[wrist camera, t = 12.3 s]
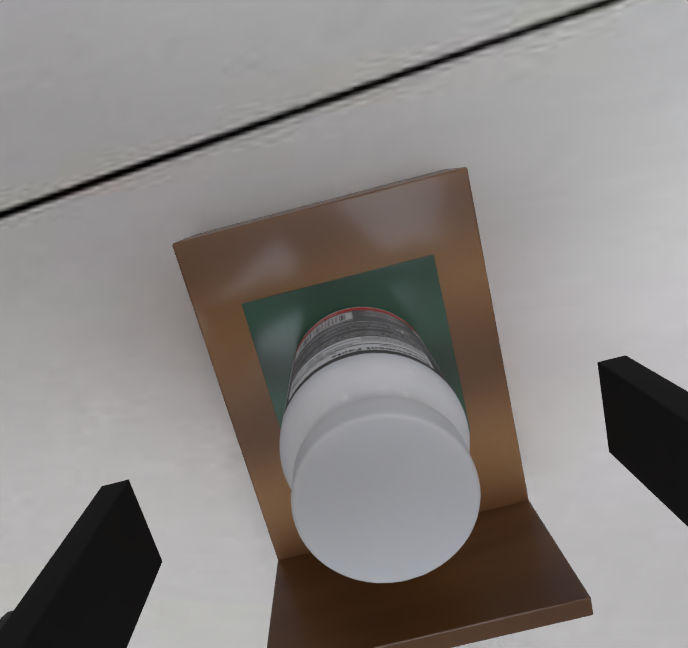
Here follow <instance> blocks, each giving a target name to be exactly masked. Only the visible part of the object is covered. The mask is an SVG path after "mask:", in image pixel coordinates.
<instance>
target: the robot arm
mask: <svg viewBox="0 0 688 648" xmlns="http://www.w3.org/2000/svg"><path fill="white" fill-rule="evenodd" d="M598 370H599V377H600V385H601V393H602V400H603V408H604V416H605V423H606V431H607V439H608V446H609V452H610V453H611V454H612V455H613V456H614V457H615V458H616V459H617V460H618V461H619V462H620V463H622V464H623V465H624V466H625V467H626V468H627V469H628V470H629V471H630V472H631V473H632V474H633V475H634V476H635V477H636V478H637V479H638V480H639V481H640V482H642V483H643V484H644V485H645V486H646V487H647V488H648V489H649V490H650V491H651V492H652V493H653V494H654V495H655V496H656V497H657V498H658V499H659V500H660V501H661V502H663V503H664V504H665V505H666V506H667V507H668V508H669V509H670V510H671V511H672V512H673V513H674V514H675V515H676V516H677V517H678V518H679V519H680V520H681V521H682V522H684V523H685V524H686V525H687V526H688V392H687V391H686V390H684V389H682V388H681V387H679V386H677V385H675V384H674V383H672V382H670V381H669V380H667V379H665V378H663V377H662V376H660V375H658V374H657V373H655V372H653V371H651V370H650V369H648V368H646V367H645V366H643V365H641V364H639V363H638V362H636V361H634V360H633V359H631V358H629V357H627V356H626V355H625V356H621V357H617V358H613V359H609V360H605V361H601V362H598ZM161 563H162V559H161V557H160V555H159V552H158V550H157V547H156V545H155V542H154V540H153V538H152V535H151V533H150V530H149V528H148V525H147V523H146V520H145V518H144V516H143V513H142V511H141V508H140V506H139V503H138V501H137V499H136V496H135V494H134V491H133V489H132V486H131V484H130V482H129V480H125V481H121V482H117V483H113V484H109V485H105V486H102V487H101V488H100V490H99V491H98V493H97V494H96V495H95V497H94V498H93V500H92V501H91V502H90V504H89V505H88V507H87V508H86V509H85V511H84V512H83V514H82V515H81V517H80V518H79V519H78V521H77V522H76V524H75V525H74V526H73V528H72V529H71V531H70V532H69V533H68V535H67V536H66V538H65V539H64V540H63V542H62V543H61V545H60V546H59V548H58V549H57V550H56V552H55V553H54V555H53V556H52V557H51V559H50V560H49V562H48V563H47V564H46V566H45V567H44V569H43V570H42V571H41V573H40V574H39V576H38V577H37V579H36V580H35V581H34V583H33V584H32V586H31V587H30V588H29V590H28V591H27V593H26V594H25V595H24V597H23V598H22V600H21V601H20V602H19V604H18V605H17V607H16V608H15V610H14V611H10V612H7V613H6V614H5V615H4V616H3V617H2V618H1V619H0V648H127V646H128V643H129V641H130V638H131V636H132V633H133V631H134V629H135V626H136V624H137V621H138V619H139V616H140V614H141V612H142V609H143V607H144V604H145V602H146V600H147V597H148V595H149V592H150V590H151V587H152V585H153V583H154V580H155V578H156V575H157V573H158V571H159V568H160V566H161Z"/></svg>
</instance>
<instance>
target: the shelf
mask: <svg viewBox="0 0 688 648" xmlns="http://www.w3.org/2000/svg"><path fill="white" fill-rule="evenodd" d="M173 249H174V252H175V255H176V258H177V261H178V263H179V266H180V269H181V272H182V275H183V278H184V281H185V284H186V287H187V290H188V293H189V296H190V299H191V302H192V305H193V308H194V311H195V314H196V317H197V320H198V323H199V326H200V329H201V332H202V335H203V338H204V341H205V344H206V347H207V350H208V353H209V356H210V359H211V362H212V365H213V368H214V371H215V374H216V377H217V380H218V383H219V386H220V389H221V392H222V395H223V398H224V400H225V403H226V406H227V409H228V412H229V415H230V418H231V421H232V424H233V427H234V430H235V433H236V436H237V439H238V442H239V445H240V448H241V451H242V454H243V457H244V460H245V463H246V466H247V469H248V472H249V475H250V478H251V481H252V484H253V487H254V490H255V493H256V496H257V499H258V502H259V505H260V508H261V511H262V514H263V517H264V520H265V523H266V526H267V529H268V532H269V535H270V537H271V540H272V543H273V546H274V549H275V552H276V555H277V558H278V565H277V573H276V581H275V588H274V596H273V604H272V612H271V620H270V628H269V636H268V643H267V648H452V647H456V646H460V645H465V644H469V643H473V642H478V641H482V640H486V639H491V638H495V637H499V636H504V635H508V634H512V633H517V632H521V631H525V630H530V629H534V628H538V627H542V626H547V625H551V624H555V623H560V622H564V621H568V620H573V619H577V618H581V617H586V616H590V615H593V610H592V603H591V597H590V596H589V594H588V593H587V591H586V590H585V588H584V586H583V585H582V583H581V582H580V580H579V579H578V577H577V575H576V574H575V572H574V571H573V569H572V568H571V566H570V564H569V563H568V561H567V560H566V558H565V557H564V555H563V553H562V552H561V550H560V549H559V547H558V546H557V544H556V542H555V541H554V539H553V538H552V536H551V535H550V533H549V531H548V530H547V528H546V527H545V525H544V524H543V522H542V521H541V519H540V517H539V516H538V514H537V513H536V511H535V510H534V508H533V506H532V505H531V503H530V502H529V500H528V494H527V489H526V484H525V478H524V473H523V467H522V462H521V457H520V451H519V446H518V440H517V435H516V430H515V424H514V419H513V413H512V408H511V403H510V397H509V392H508V386H507V381H506V376H505V370H504V365H503V359H502V354H501V349H500V343H499V338H498V332H497V327H496V322H495V316H494V311H493V305H492V300H491V295H490V289H489V284H488V278H487V273H486V268H485V262H484V257H483V251H482V246H481V241H480V235H479V230H478V224H477V219H476V214H475V208H474V203H473V197H472V192H471V187H470V181H469V176H468V170H467V168H466V167H462V168H453V169H444V170H440V171H436V172H433V173H429V174H425V175H421V176H417V177H413V178H410V179H406V180H402V181H398V182H394V183H390V184H387V185H383V186H379V187H375V188H371V189H368V190H364V191H360V192H356V193H352V194H348V195H345V196H341V197H337V198H333V199H329V200H325V201H322V202H318V203H314V204H310V205H306V206H302V207H299V208H295V209H291V210H287V211H283V212H279V213H276V214H272V215H268V216H264V217H260V218H256V219H253V220H249V221H245V222H241V223H237V224H233V225H230V226H226V227H222V228H218V229H214V230H210V231H207V232H203V233H199V234H196V235H193V236H191V237H188V238H185V239H183V240H180V241H178V242H175V243H173ZM352 307H373V308H378V309H382V310H385V311H388V312H390V313H392V314H394V315H396V316H398V317H400V318H401V319H403V320H404V321H405V322H406V323H408V324H409V325H410V326H411V327H412V328H413V329H414V330H415V332H416V333H417V334H418V335H419V336H420V338H421V339H422V341H423V343H424V344H425V346H426V347H427V349H428V351H429V352H430V354H431V355H432V357H433V359H434V360H435V362H436V364H437V365H438V367H439V368H440V370H441V372H442V373H443V375H444V376H445V378H446V380H447V381H448V383H449V384H450V386H451V387H452V389H453V391H454V392H455V394H456V396H457V398H458V399H459V401H460V403H461V406H462V408H463V410H464V413H465V416H466V419H467V423H468V428H469V434H470V450H469V453H470V456H471V458H472V460H473V462H474V465H475V467H476V470H477V474H478V478H479V483H480V492H481V498H480V508H479V512H478V517H477V520H476V523H475V525H474V528H473V530H472V532H471V534H470V536H469V537H468V539H467V540H466V541H465V543H464V544H463V545H462V547H461V548H460V549H459V550H458V551H457V552H456V553H455V554H454V555H453V556H452V557H451V558H450V559H449V560H448V561H446V562H445V563H444V564H442V565H441V566H439V567H437V568H436V569H434V570H432V571H430V572H428V573H427V574H425V575H422V576H419V577H416V578H413V579H409V580H405V581H401V582H394V583H372V582H365V581H359V580H356V579H352V578H349V577H347V576H344V575H342V574H340V573H337V572H336V571H334V570H332V569H330V568H329V567H327V566H326V565H324V564H323V563H322V562H321V561H320V560H318V559H317V558H316V557H315V556H314V555H313V554H312V553H311V551H310V550H309V549H308V548H307V547H306V545H305V544H304V542H303V541H302V539H301V537H300V536H299V533H298V531H297V528H296V526H295V523H294V519H293V516H292V510H291V488H290V487H289V485H288V483H287V480H286V478H285V475H284V472H283V469H282V465H281V459H280V431H281V426H282V420H283V415H284V410H285V405H286V400H287V394H288V388H289V382H290V377H291V371H292V366H293V361H294V357H295V353H296V351H297V348H298V346H299V344H300V342H301V340H302V339H303V337H304V336H305V334H306V333H307V332H308V331H309V330H310V329H311V328H312V327H313V326H314V325H315V324H316V323H317V322H318V321H320V320H321V319H323V318H324V317H326V316H327V315H329V314H332V313H334V312H336V311H339V310H342V309H346V308H352Z"/></svg>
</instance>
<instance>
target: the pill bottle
mask: <svg viewBox="0 0 688 648" xmlns="http://www.w3.org/2000/svg"><path fill="white" fill-rule="evenodd" d="M469 450H470V434H469V428H468V423H467V419H466V416H465V413H464V410H463V408H462V406H461V403H460V401H459V399H458V398H457V396H456V394H455V392H454V391H453V389H452V387H451V386H450V384H449V383H448V381H447V380H446V378H445V376H444V375H443V373H442V372H441V370H440V368H439V367H438V365H437V364H436V362H435V360H434V359H433V357H432V355H431V354H430V352H429V351H428V349H427V347H426V346H425V344H424V343H423V341H422V339H421V338H420V336H419V335H418V334H417V333H416V332H415V330H414V329H413V328H412V327H411V326H410V325H409V324H408V323H406V322H405V321H404V320H403V319H401V318H400V317H398V316H396V315H394V314H392V313H390V312H388V311H385V310H382V309H378V308H373V307H352V308H346V309H342V310H339V311H336V312H334V313H332V314H329V315H327V316H326V317H324V318H323V319H321V320H320V321H318V322H317V323H316V324H315V325H314V326H313V327H312V328H311V329H310V330H309V331H308V332H307V333H306V334H305V336H304V337H303V339H302V340H301V342H300V344H299V346H298V348H297V351H296V353H295V357H294V361H293V366H292V371H291V377H290V382H289V388H288V394H287V400H286V405H285V410H284V415H283V420H282V426H281V431H280V459H281V465H282V469H283V472H284V475H285V478H286V480H287V483H288V485H289V487H290V488H291V510H292V516H293V519H294V523H295V526H296V528H297V531H298V533H299V536H300V537H301V539H302V541H303V542H304V544H305V545H306V547H307V548H308V549H309V550H310V551H311V553H312V554H313V555H314V556H315V557H316V558H317V559H318V560H320V561H321V562H322V563H323V564H324V565H326V566H327V567H329V568H330V569H332V570H334V571H336V572H337V573H340V574H342V575H344V576H347V577H349V578H352V579H356V580H359V581H365V582H372V583H394V582H401V581H405V580H409V579H413V578H416V577H419V576H422V575H425V574H427V573H428V572H430V571H432V570H434V569H436V568H437V567H439V566H441V565H442V564H444V563H445V562H446V561H448V560H449V559H450V558H451V557H452V556H453V555H454V554H455V553H456V552H457V551H458V550H459V549H460V548H461V547H462V545H463V544H464V543H465V541H466V540H467V539H468V537H469V536H470V534H471V532H472V530H473V528H474V525H475V523H476V520H477V517H478V512H479V508H480V498H481V492H480V483H479V478H478V474H477V470H476V467H475V465H474V462H473V460H472V458H471V456H470V453H469Z"/></svg>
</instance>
